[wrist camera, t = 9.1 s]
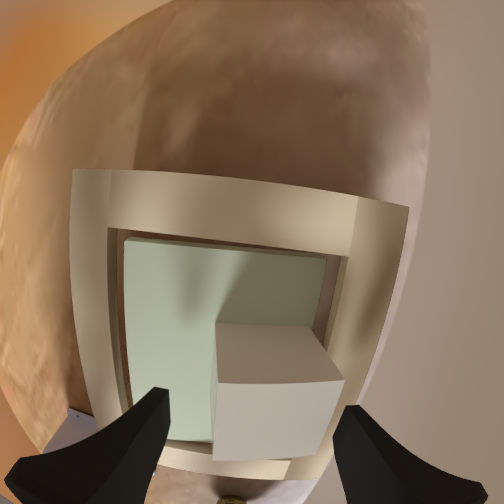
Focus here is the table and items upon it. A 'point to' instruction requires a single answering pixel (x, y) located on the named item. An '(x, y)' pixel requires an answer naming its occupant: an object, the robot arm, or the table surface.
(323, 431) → the beige cube
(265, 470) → the stand
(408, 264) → the table surface
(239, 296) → the flap
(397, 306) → the table surface
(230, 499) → the cup
